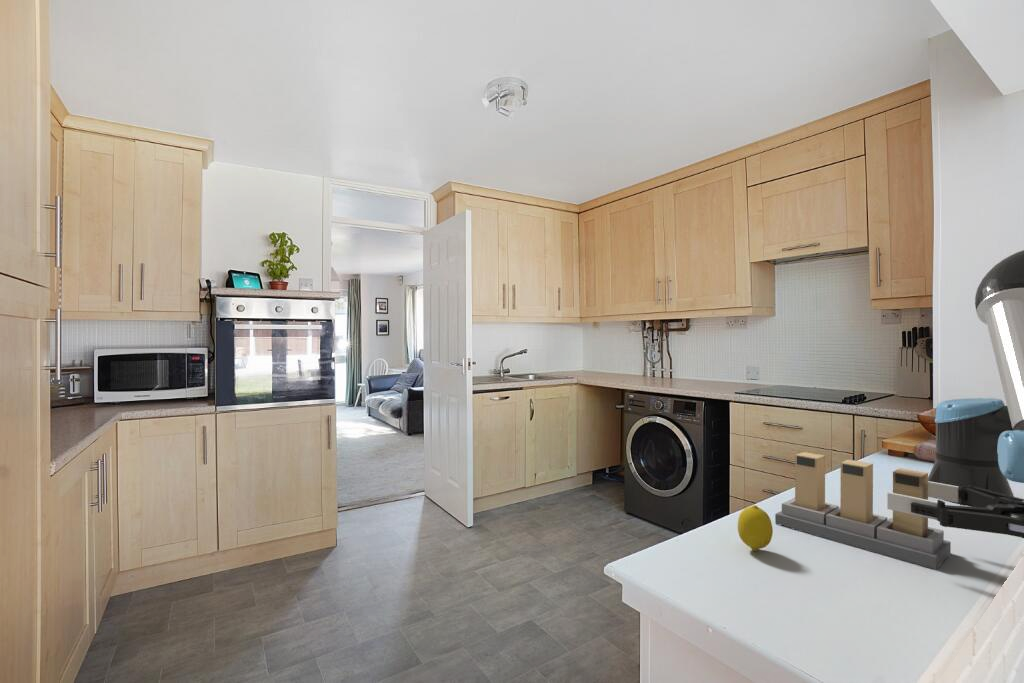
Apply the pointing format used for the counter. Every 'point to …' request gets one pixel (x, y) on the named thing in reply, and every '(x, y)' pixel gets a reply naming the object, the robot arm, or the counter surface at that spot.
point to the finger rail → (854, 514)
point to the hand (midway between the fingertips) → (900, 492)
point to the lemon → (755, 527)
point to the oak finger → (915, 487)
